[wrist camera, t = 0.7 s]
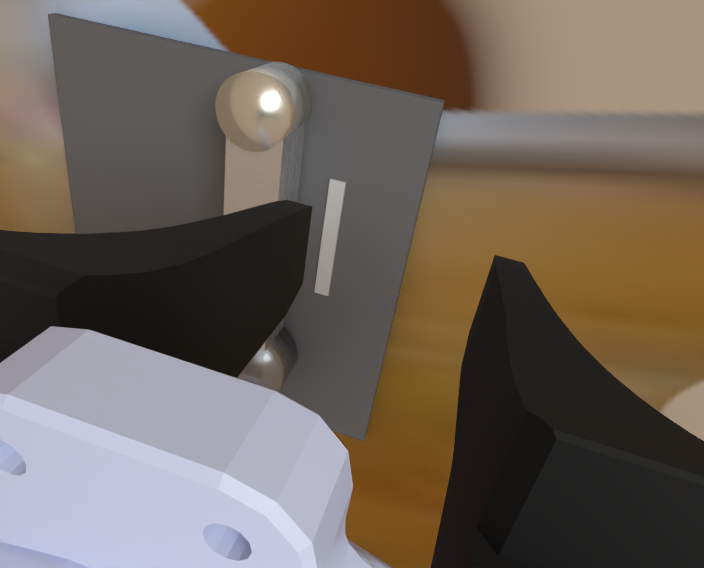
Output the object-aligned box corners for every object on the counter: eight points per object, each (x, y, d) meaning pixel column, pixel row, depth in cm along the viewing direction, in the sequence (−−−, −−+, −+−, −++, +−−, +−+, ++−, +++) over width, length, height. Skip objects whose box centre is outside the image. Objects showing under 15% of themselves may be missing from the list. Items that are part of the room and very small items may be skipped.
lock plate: (365, 435, 27) (362, 442, 26) (95, 345, 29) (89, 350, 29) (444, 100, 18) (442, 103, 18) (55, 13, 21) (45, 14, 20)
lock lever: (293, 387, 25) (272, 422, 23) (222, 364, 26) (196, 397, 24) (333, 73, 18) (308, 86, 16) (234, 51, 19) (198, 60, 17)
